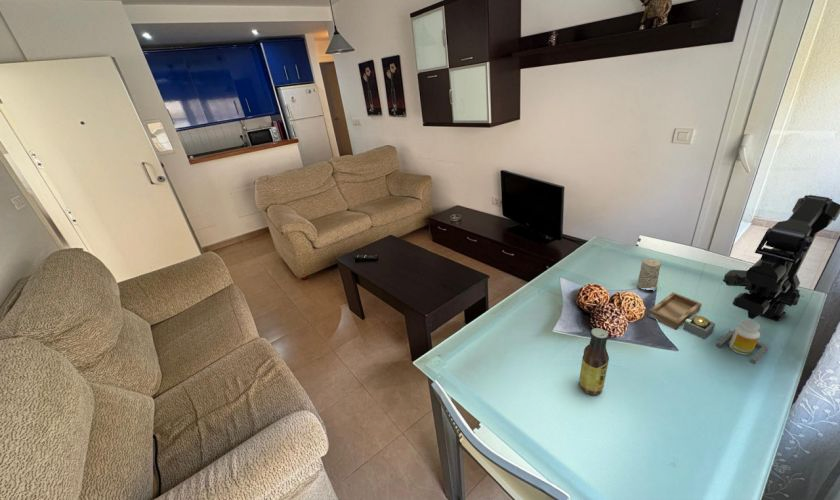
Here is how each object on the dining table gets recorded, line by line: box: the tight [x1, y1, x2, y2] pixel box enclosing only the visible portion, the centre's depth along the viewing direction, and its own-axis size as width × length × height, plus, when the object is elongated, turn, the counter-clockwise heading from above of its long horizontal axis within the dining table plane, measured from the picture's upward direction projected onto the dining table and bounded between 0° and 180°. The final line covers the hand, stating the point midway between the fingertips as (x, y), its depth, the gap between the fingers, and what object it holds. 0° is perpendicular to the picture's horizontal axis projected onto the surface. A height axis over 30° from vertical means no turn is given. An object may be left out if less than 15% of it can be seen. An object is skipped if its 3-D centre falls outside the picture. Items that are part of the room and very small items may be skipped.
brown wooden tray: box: [648, 292, 703, 331], centre depth 118 cm, size 16×9×3 cm, turn 122°
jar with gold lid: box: [692, 315, 709, 329], centre depth 109 cm, size 4×4×3 cm
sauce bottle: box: [578, 327, 610, 396], centre depth 92 cm, size 6×6×20 cm
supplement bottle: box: [728, 319, 761, 356], centre depth 100 cm, size 5×5×10 cm
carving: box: [637, 258, 662, 289], centre depth 129 cm, size 6×8×12 cm
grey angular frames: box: [682, 314, 770, 365], centre depth 105 cm, size 9×19×4 cm, turn 32°
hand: (751, 317), depth 97 cm, fingers closed
